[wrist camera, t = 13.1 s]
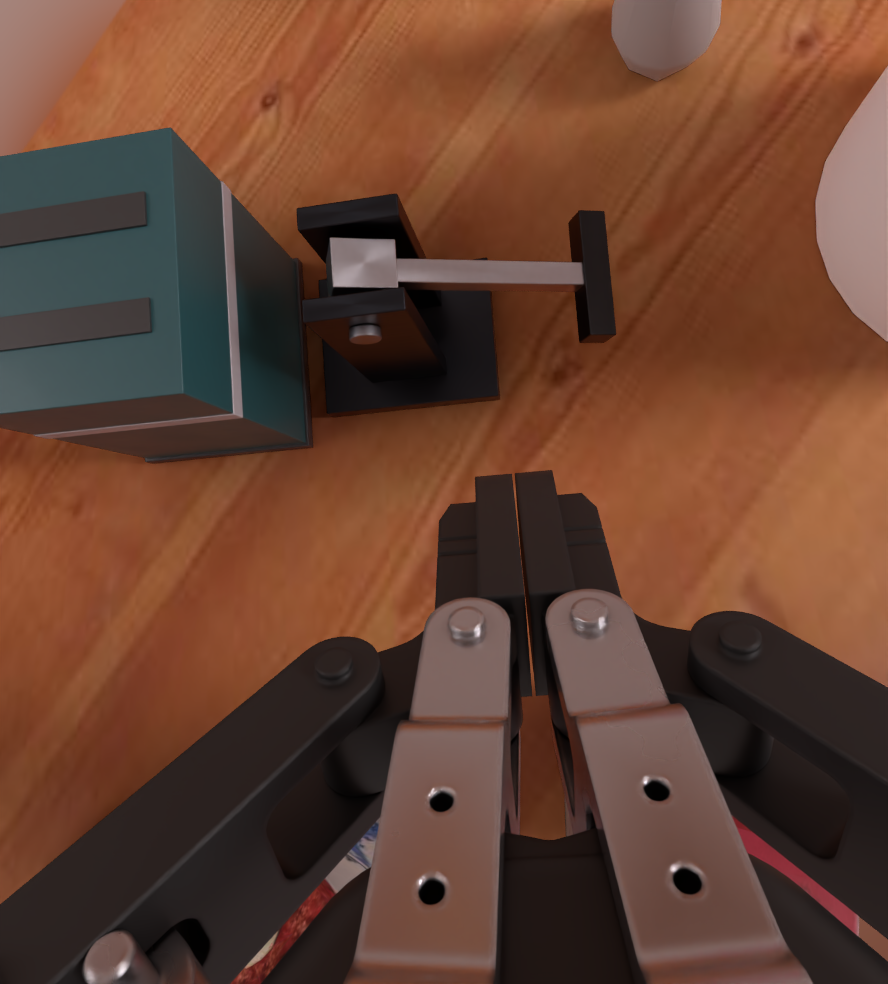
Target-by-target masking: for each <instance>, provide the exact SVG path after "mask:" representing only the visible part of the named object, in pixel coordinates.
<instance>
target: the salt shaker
mask: <svg viewBox="0 0 888 984" xmlns="http://www.w3.org/2000/svg"><path fill="white" fill-rule="evenodd" d="M720 18H721V0H615V1H614V4H613V7H612V27H611V32H612V38H613V40H614V42H615V44H616V46H617V48H618V50H619V52H620V54H621V56H622V58H623V60H624V62H625V64H626V65H627V67H628V69H629V70H631V71H634V72H636V73H639V74H641V75H643V76H646V77H648V78H651V79H653V80H656V81H659V80H661V79H663V78H665V77H667V76H669V75H671V74H673V73H675V72H678V71H680V70H682V69H684V68H686V67H688V66H689V65H690V64H691V63H693V62H694V61H695V60H696V59H698V58H699V57H700V56H701V55H702V54H704V53H705V52H706V50H707V49H708V47H709V45H710V43H711V41H712V39H713V37H714V35H715V33H716V32H717V30H718V28H719V26H720Z"/></svg>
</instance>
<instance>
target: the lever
mask: <svg viewBox="0 0 888 984" xmlns="http://www.w3.org/2000/svg"><path fill="white" fill-rule="evenodd" d="M568 225H569V236H570V247H571V257H572V262H544V261H498V260H451V259H405V258H396V246H395V239H372V238H336V237H331V238H330V239H329V245H328V251H327V257H326V271H327V287H328V297H329V296H337V295H345V294H353V293H360V292H368V291H376V290H383V289H391V288H399V287H404V288H405V290H462V291H551V292H575V301H576V311H577V322H578V333H579V342H580V343H604V342H606V341H607V340H609V339H610V338H612V337H613V336H615V335H616V327H615V317H614V307H613V296H612V286H611V276H610V265H609V255H608V245H607V234H606V224H605V214H604V211H585V210H579V211H578V212H577V213H576V214H575V216H574V217H573V218H572V219H571V220H570V221H569V223H568Z"/></svg>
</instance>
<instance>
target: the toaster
mask: <svg viewBox="0 0 888 984" xmlns="http://www.w3.org/2000/svg"><path fill="white" fill-rule="evenodd" d="M302 300H304V290H303V274H302V263H301V261H300V260H299V259H298V258H294V259H292V258H291V257H290V256H289V255H288V254H287V253H286V252H285V251H284V250H283V249H282V247H281V246H280V245H279V244H278V243H277V242H276V241H275V240H274V239H273V238H272V237H271V236H270V234H269V233H268V232H267V231H266V230H265V229H264V228H263V227H262V226H261V225H260V224H259V223H258V221H257V220H256V219H255V218H254V217H253V216H252V215H251V214H250V213H249V212H248V211H247V210H246V208H245V207H244V206H243V205H242V204H241V203H240V202H239V201H238V200H237V199H236V198H235V197H234V196H233V194H232V193H231V190H230V189H229V188H228V187H227V186H226V185H225V184H224V183H223V182H222V181H220V180H219V179H218V178H217V177H216V176H215V175H214V174H213V173H212V172H211V171H210V170H209V168H208V167H207V166H206V165H205V164H204V163H203V162H202V161H201V160H200V159H199V158H198V157H197V155H196V154H195V153H194V152H193V151H192V150H191V149H190V148H189V147H188V146H187V145H186V144H185V142H184V141H183V140H182V139H181V138H180V137H179V136H178V135H177V134H176V133H175V132H174V131H173V130H172V128H165V129H159V130H153V131H147V132H141V133H135V134H130V135H124V136H118V137H112V138H106V139H100V140H94V141H89V142H83V143H77V144H71V145H65V146H59V147H53V148H48V149H42V150H36V151H30V152H24V153H18V154H12V155H7V156H1V157H0V428H4V429H9V430H14V431H19V432H23V433H28V434H33V435H34V436H36V437H41V438H46V439H57V440H62V441H66V442H71V443H76V444H81V445H86V446H90V447H95V448H100V449H105V450H109V451H114V452H119V453H124V454H129V455H133V456H138V457H143V458H145V462H148V463H162V462H172V461H182V460H192V459H202V458H212V457H222V456H232V455H242V454H252V453H262V452H273V451H283V450H293V449H303V448H312V447H313V438H312V422H311V405H310V389H309V372H308V356H307V339H306V324H305V323H304V322H303V309H302Z"/></svg>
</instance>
